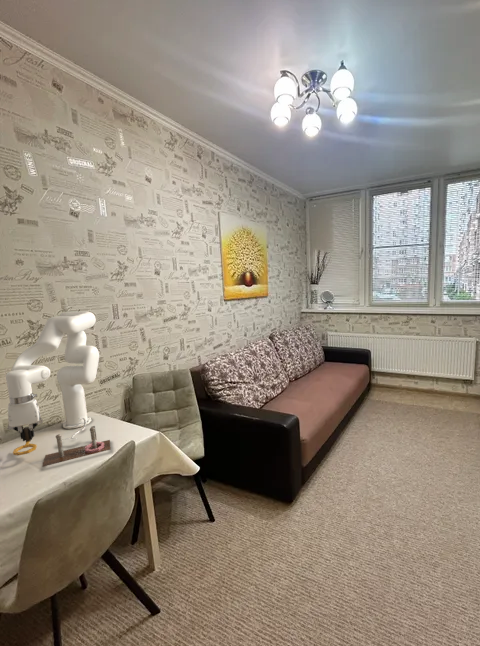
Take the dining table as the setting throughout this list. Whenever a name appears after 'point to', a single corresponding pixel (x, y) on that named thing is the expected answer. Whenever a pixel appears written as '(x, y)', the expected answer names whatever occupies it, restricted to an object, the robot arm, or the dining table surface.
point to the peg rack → (73, 450)
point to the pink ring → (96, 444)
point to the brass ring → (25, 444)
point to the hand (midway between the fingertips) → (28, 438)
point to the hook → (78, 431)
